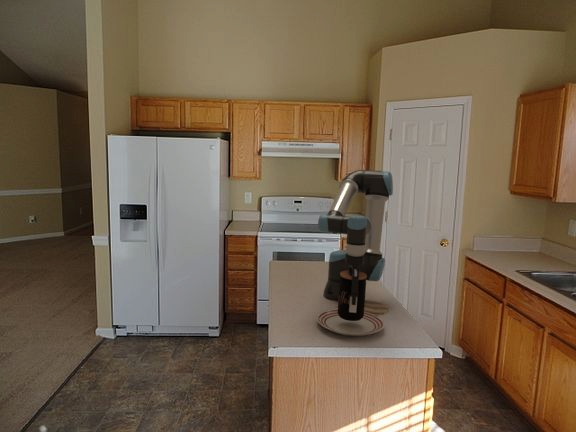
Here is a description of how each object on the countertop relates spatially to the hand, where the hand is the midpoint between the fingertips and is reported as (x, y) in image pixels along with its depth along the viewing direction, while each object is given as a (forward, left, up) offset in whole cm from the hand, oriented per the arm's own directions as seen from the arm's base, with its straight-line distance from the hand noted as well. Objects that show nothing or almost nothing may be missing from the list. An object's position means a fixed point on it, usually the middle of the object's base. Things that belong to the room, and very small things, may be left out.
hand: (351, 306), depth 164 cm
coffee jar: (0, 0, -4) cm, 4 cm away
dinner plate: (0, 0, -9) cm, 9 cm away
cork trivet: (-23, +12, -8) cm, 27 cm away
